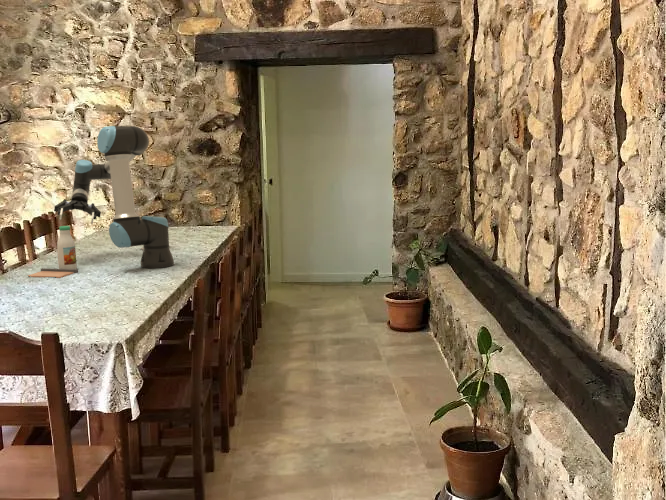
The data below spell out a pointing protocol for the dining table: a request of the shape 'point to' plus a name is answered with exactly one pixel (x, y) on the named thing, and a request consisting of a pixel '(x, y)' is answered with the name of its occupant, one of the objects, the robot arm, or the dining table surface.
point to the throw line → (60, 270)
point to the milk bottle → (66, 249)
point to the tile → (50, 274)
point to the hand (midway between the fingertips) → (76, 219)
